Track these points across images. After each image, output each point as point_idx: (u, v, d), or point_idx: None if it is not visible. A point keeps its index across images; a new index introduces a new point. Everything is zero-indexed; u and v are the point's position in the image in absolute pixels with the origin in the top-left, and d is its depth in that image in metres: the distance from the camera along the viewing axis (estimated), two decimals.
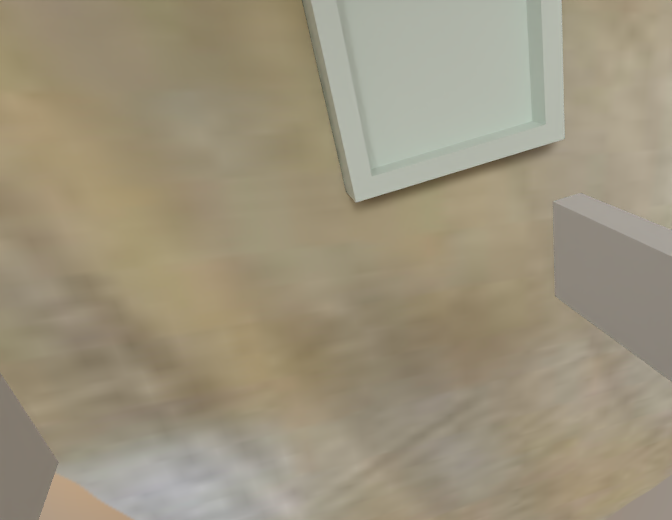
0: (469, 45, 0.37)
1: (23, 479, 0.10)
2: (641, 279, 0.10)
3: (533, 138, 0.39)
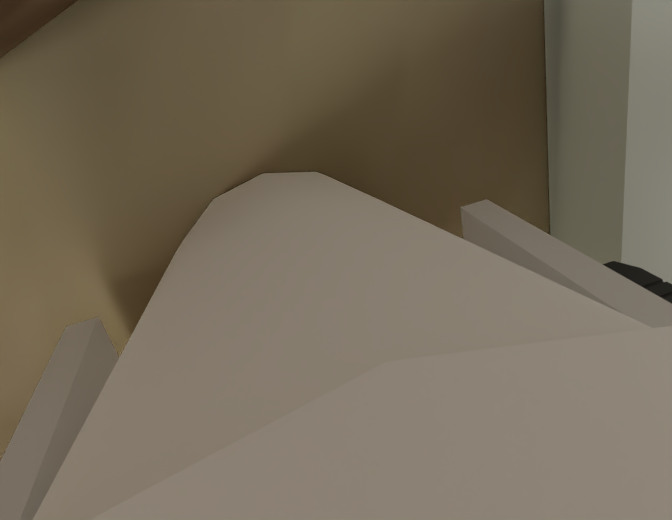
0: None
1: None
2: None
3: None
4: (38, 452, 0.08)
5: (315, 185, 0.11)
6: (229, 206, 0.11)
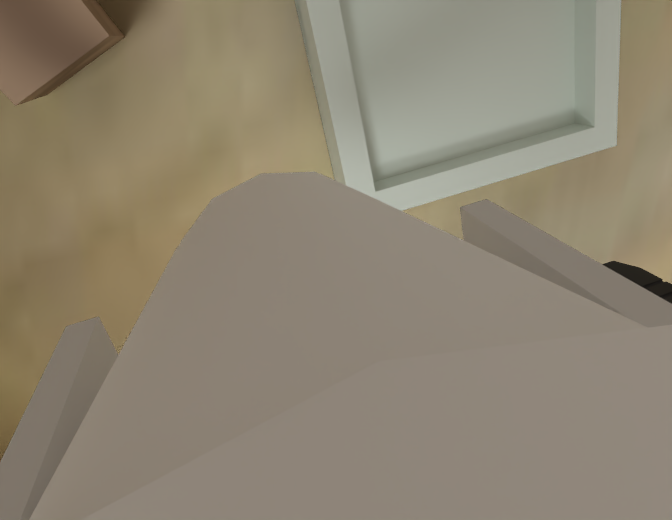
0: None
1: None
2: None
3: None
4: (38, 452, 0.08)
5: (313, 185, 0.11)
6: (227, 206, 0.11)
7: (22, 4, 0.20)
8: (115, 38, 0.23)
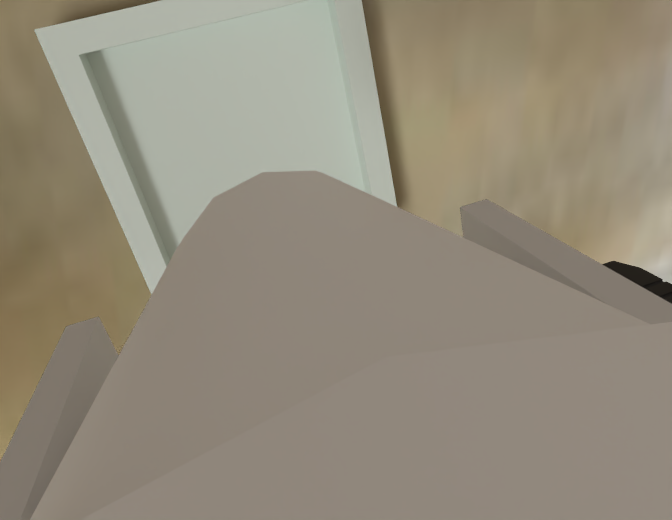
0: (238, 104, 0.32)
1: None
2: None
3: (350, 12, 0.29)
4: (38, 452, 0.08)
5: (315, 184, 0.11)
6: (229, 205, 0.11)
7: None
8: None
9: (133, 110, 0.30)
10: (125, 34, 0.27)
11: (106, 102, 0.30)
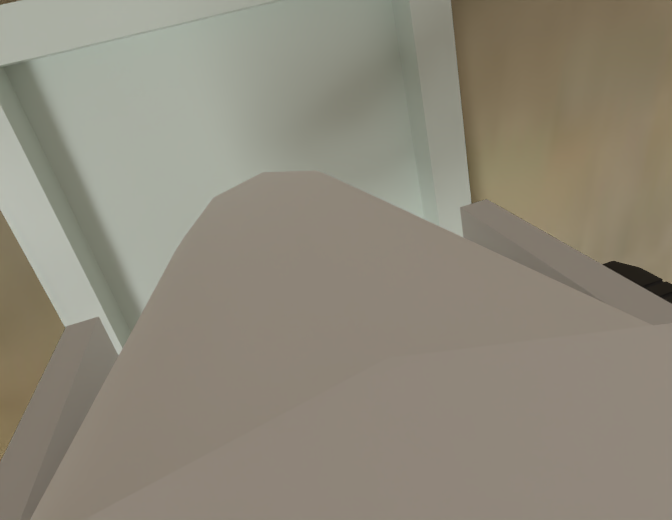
0: (250, 143, 0.21)
1: None
2: None
3: None
4: (38, 452, 0.08)
5: (315, 184, 0.11)
6: (229, 205, 0.11)
7: None
8: None
9: (85, 155, 0.19)
10: (63, 35, 0.16)
11: (40, 143, 0.19)
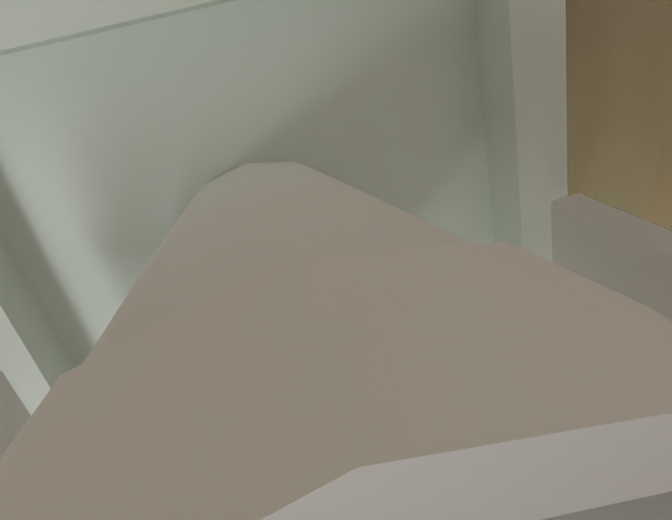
0: None
1: None
2: (638, 280, 0.10)
3: None
4: None
5: (288, 171, 0.12)
6: (213, 189, 0.12)
7: None
8: None
9: (39, 201, 0.14)
10: None
11: None
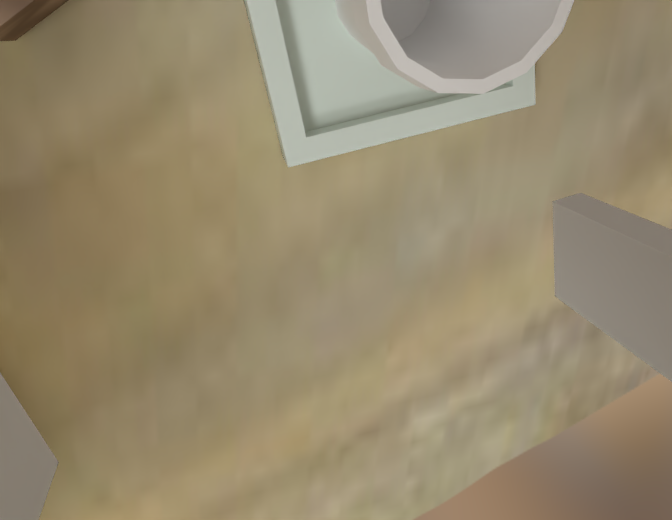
0: None
1: (23, 479, 0.10)
2: (640, 279, 0.10)
3: None
4: None
5: None
6: None
7: None
8: None
9: None
10: None
11: None
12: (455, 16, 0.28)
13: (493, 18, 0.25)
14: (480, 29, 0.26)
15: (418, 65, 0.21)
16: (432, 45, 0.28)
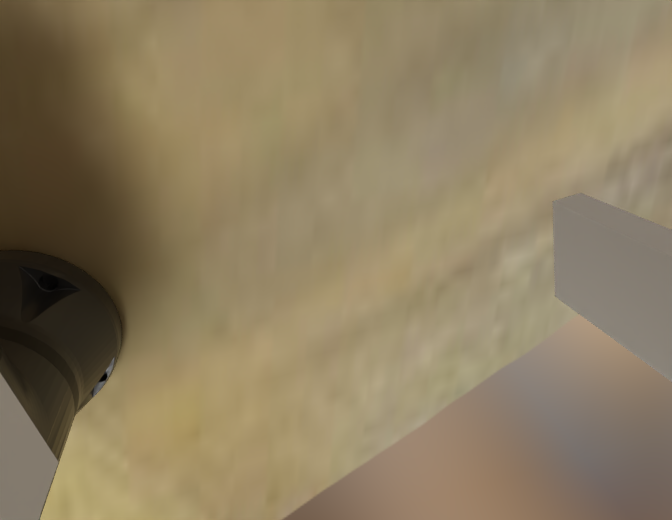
0: None
1: (23, 479, 0.10)
2: (640, 279, 0.10)
3: None
4: None
5: None
6: None
7: None
8: None
9: None
10: None
11: None
12: None
13: None
14: None
15: None
16: None
